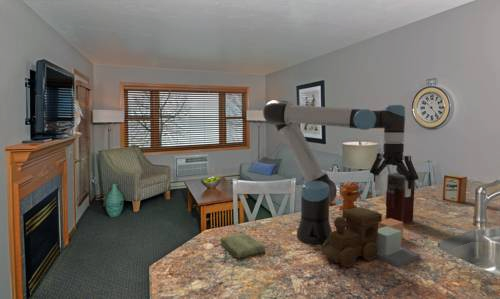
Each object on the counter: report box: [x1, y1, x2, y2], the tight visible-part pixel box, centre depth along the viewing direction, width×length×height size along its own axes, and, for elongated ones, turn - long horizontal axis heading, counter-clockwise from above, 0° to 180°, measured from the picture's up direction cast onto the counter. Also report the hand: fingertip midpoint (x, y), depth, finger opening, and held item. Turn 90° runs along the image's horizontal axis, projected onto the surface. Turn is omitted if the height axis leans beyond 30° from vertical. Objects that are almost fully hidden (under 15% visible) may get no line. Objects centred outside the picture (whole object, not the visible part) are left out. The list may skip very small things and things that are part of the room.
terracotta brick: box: [378, 218, 404, 239], centre depth 122 cm, size 9×6×7 cm, turn 120°
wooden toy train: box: [321, 207, 383, 268], centre depth 104 cm, size 20×11×17 cm, turn 116°
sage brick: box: [376, 226, 402, 254], centre depth 108 cm, size 9×6×7 cm, turn 120°
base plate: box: [375, 246, 421, 268], centre depth 108 cm, size 13×18×2 cm
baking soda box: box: [442, 174, 468, 205], centre depth 176 cm, size 10×6×16 cm
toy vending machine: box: [385, 165, 416, 225], centre depth 142 cm, size 9×11×28 cm
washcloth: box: [220, 233, 266, 259], centre depth 114 cm, size 13×18×3 cm
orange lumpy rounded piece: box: [338, 181, 361, 212], centre depth 152 cm, size 11×11×18 cm
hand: (391, 193), depth 120 cm, fingers open, 13 cm apart
